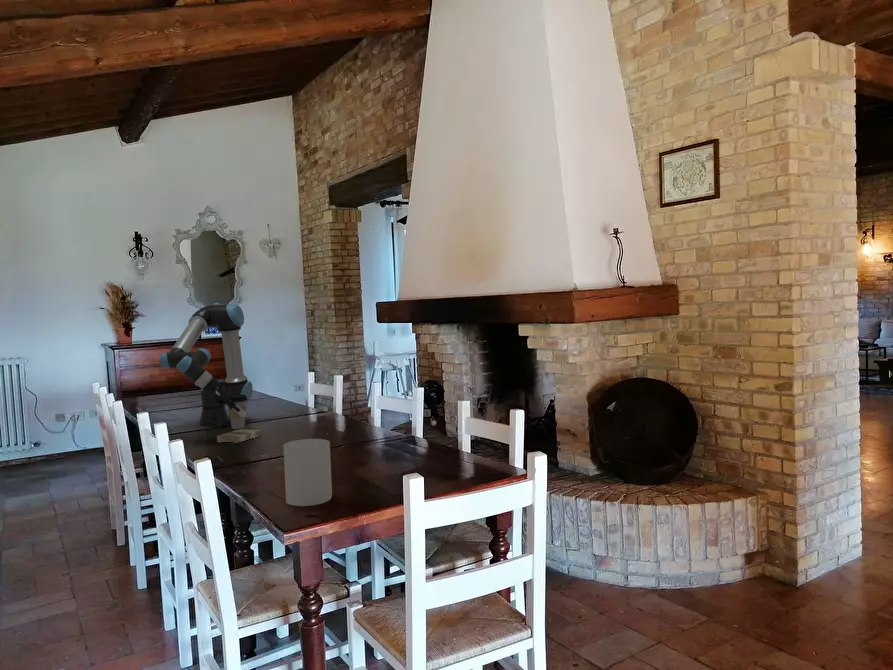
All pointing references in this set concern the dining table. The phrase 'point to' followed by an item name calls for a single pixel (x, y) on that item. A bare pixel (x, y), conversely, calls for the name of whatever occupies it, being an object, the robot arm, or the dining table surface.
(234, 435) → the beige ridged slab
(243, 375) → the robot arm
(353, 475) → the dining table surface
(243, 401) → the coffee cup
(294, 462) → the container
